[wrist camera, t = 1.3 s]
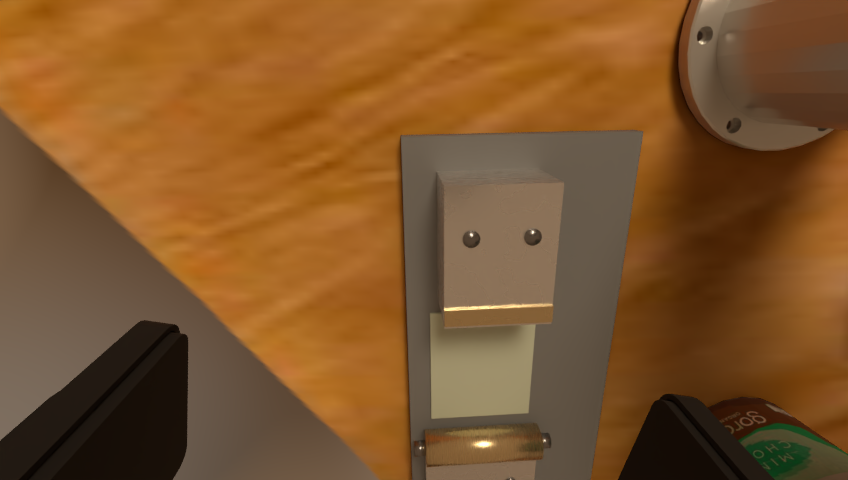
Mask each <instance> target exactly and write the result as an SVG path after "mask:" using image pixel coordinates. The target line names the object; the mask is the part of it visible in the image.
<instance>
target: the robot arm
mask: <svg viewBox="0 0 848 480" xmlns="http://www.w3.org/2000/svg"><path fill="white" fill-rule="evenodd" d="M678 68H679V75H680V82H681V88H682V91H683V94H684V97H685V99H686V102H687V105H688V107H689V109H690V110H691V112H692V113H693V115H694V117H695V118H696V120H697V121H698V122H699V123H700V124H701V125H702V126H703V127H704V128H705V129H706V130H707V131H708V132H709V133H710V134H711V135H713V136H715V137H716V138H718V139H720V140H721V141H723V142H725V143H727V144H731V145H734V146H737V147H740V148H746V149H753V150H759V151H776V150H785V149H789V148H794V147H798V146H802V145H804V144H807V143H809V142H812V141H814V140H817V139H819V138H821V137H823V136H825V135H826V134H828V133H830V132H831V131H833V130H835V129H840V130H848V0H691V3H690V5H689V8H688V11H687V13H686V16H685V19H684V23H683V27H682V32H681V37H680V42H679V60H678ZM187 395H188V337H187V335H185V334H180V331H179V328H178V326H177V325H173V324H166V323H160V322H152V321H145V320H144V321H140V322H139V323H137V324H136V325H135V326H134V327H132V328H131V329H130V330H129V331H128V332H127V333H126V334H125V335H123V336H122V337H121V338H120V339H119V340H118V341H117V342H116V343H114V344H113V345H112V346H111V347H110V348H109V349H107V350H106V351H105V352H104V353H103V354H102V355H101V356H99V357H98V358H97V359H96V360H95V361H94V362H93V363H91V364H90V365H89V366H88V367H87V368H86V369H85V370H84V371H82V372H81V373H80V374H79V375H78V376H77V377H76V378H74V379H73V380H72V381H71V382H70V383H69V384H68V385H66V386H65V387H64V388H63V389H62V390H61V391H59V392H57V393H56V394H55V395H53V396H52V397H50V398H49V399H48V400H46V401H45V402H44V403H43V404H42V405H41V406H40V407H38V408H37V409H36V410H35V411H34V412H33V413H32V414H30V415H29V416H28V417H27V418H26V419H25V420H24V421H22V422H21V423H20V424H19V425H18V426H17V427H15V428H14V429H13V430H12V431H11V432H10V433H9V434H8V435H6V436H5V437H4V438H3V439H2V440H1V441H0V480H173V478H174V476H175V475H176V473H177V471H178V469H179V468H180V466H181V464H182V462H183V459H184V456H185V453H186V448H187V398H188V397H187ZM618 480H775V479H774V478H773V477H772V476H771V475H770V474H769V473H768V472H767V471H766V470H765V469H764V468H763V467H762V466H761V464H760V463H759V462H758V461H757V460H756V459H755V458H754V457H753V456H752V455H751V454H750V453H749V452H748V451H747V450H746V449H745V447H744V446H743V445H742V444H741V443H740V442H739V441H738V440H737V439H736V438H735V437H734V436H733V435H732V434H731V433H730V432H729V431H728V429H727V428H726V427H725V426H724V425H723V424H722V423H721V422H720V421H719V420H718V419H717V418H716V417H715V416H714V415H713V414H712V412H711V411H710V410H709V409H708V408H707V407H706V406H705V405H704V404H703V403H702V402H701V401H700V400H698V399H697V398H694V397H688V396H681V395H674V394H665V395H663V396H662V397H661V398H660V399H659V400H657V401H655V402H654V403H653V405H652V407H651V409H650V411H649V413H648V415H647V418H646V420H645V422H644V424H643V426H642V428H641V431H640V433H639V435H638V437H637V439H636V442H635V444H634V446H633V448H632V450H631V452H630V455H629V457H628V459H627V461H626V463H625V465H624V468H623V470H622V472H621V474H620V476H619V479H618Z"/></svg>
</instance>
